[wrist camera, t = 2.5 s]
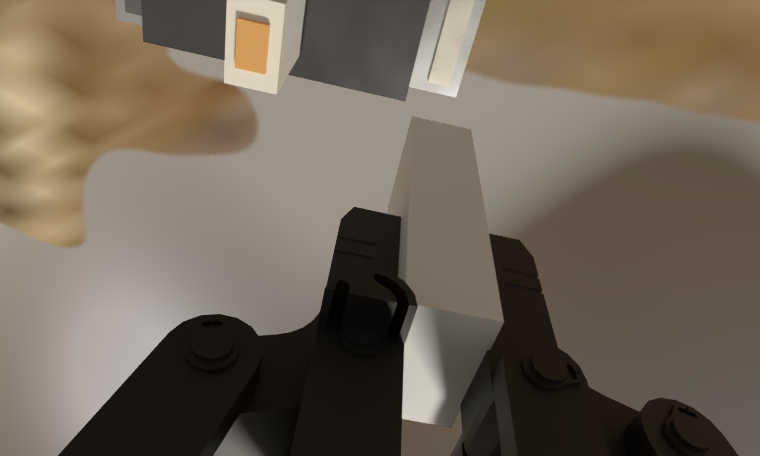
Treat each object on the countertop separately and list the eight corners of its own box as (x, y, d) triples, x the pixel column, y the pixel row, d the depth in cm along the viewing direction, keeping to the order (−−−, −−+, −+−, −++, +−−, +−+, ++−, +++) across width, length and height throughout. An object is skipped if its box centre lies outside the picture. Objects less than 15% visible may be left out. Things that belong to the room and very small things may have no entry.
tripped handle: (260, -35, 20) (224, -9, 16) (308, -24, 20) (283, 5, 16) (254, 45, 21) (222, 85, 18) (299, 56, 21) (274, 96, 18)
